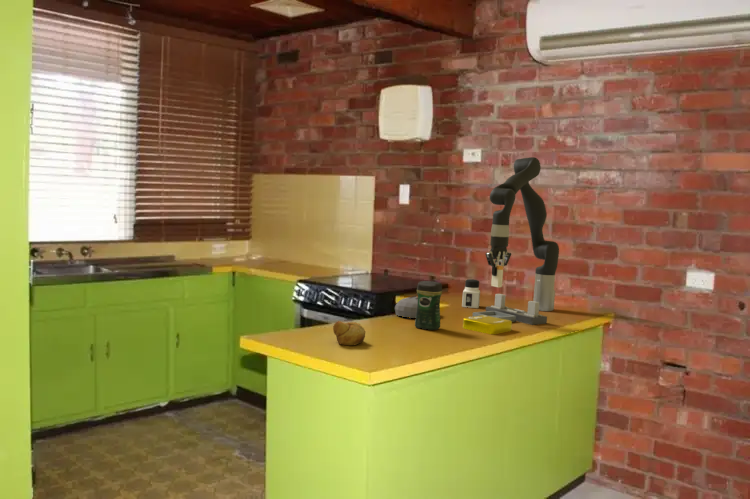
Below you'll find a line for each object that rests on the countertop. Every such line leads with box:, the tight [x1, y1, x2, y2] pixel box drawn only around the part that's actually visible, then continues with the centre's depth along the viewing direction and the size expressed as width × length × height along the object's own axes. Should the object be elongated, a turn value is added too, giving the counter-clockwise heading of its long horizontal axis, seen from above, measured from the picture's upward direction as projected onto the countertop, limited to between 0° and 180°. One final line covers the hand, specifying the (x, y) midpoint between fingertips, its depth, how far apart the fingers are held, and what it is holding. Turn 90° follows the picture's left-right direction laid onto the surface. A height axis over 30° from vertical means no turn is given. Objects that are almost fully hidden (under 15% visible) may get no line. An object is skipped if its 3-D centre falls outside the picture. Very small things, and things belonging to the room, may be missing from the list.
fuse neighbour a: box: [493, 293, 507, 309], centre depth 313 cm, size 2×4×9 cm, turn 35°
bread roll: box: [332, 320, 366, 346], centre depth 238 cm, size 13×10×8 cm
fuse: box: [526, 300, 540, 317], centre depth 296 cm, size 2×4×9 cm, turn 35°
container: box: [461, 278, 481, 309], centre depth 329 cm, size 8×8×13 cm
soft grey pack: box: [394, 295, 418, 319], centre depth 297 cm, size 15×8×20 cm
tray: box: [471, 310, 517, 323], centre depth 297 cm, size 13×13×2 cm
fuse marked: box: [490, 265, 505, 288], centre depth 296 cm, size 2×4×9 cm, turn 35°
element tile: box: [462, 315, 513, 335], centre depth 276 cm, size 15×15×5 cm
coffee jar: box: [414, 280, 443, 331], centre depth 271 cm, size 10×8×19 cm
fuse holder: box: [485, 305, 548, 326], centre depth 305 cm, size 9×28×4 cm, turn 35°
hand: (497, 275), depth 296 cm, fingers closed on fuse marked, 2 cm apart
